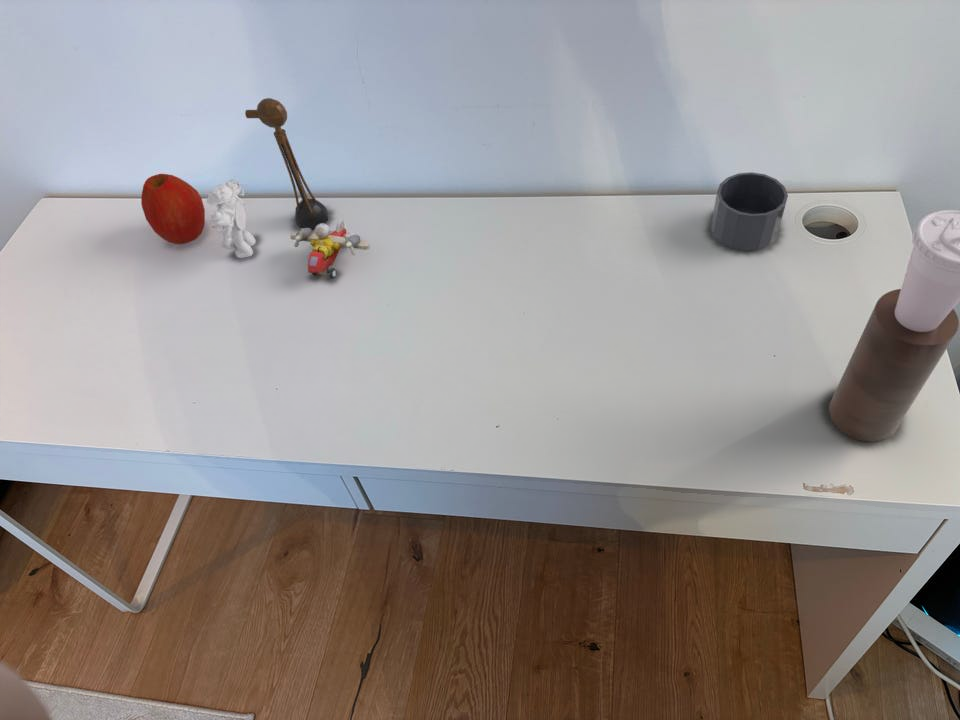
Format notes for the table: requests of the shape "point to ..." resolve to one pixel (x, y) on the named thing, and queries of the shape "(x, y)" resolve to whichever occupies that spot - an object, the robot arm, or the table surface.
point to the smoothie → (931, 273)
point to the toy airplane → (327, 246)
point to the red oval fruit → (173, 208)
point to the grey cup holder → (748, 211)
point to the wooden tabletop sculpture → (290, 163)
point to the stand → (887, 372)
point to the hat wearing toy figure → (231, 217)
